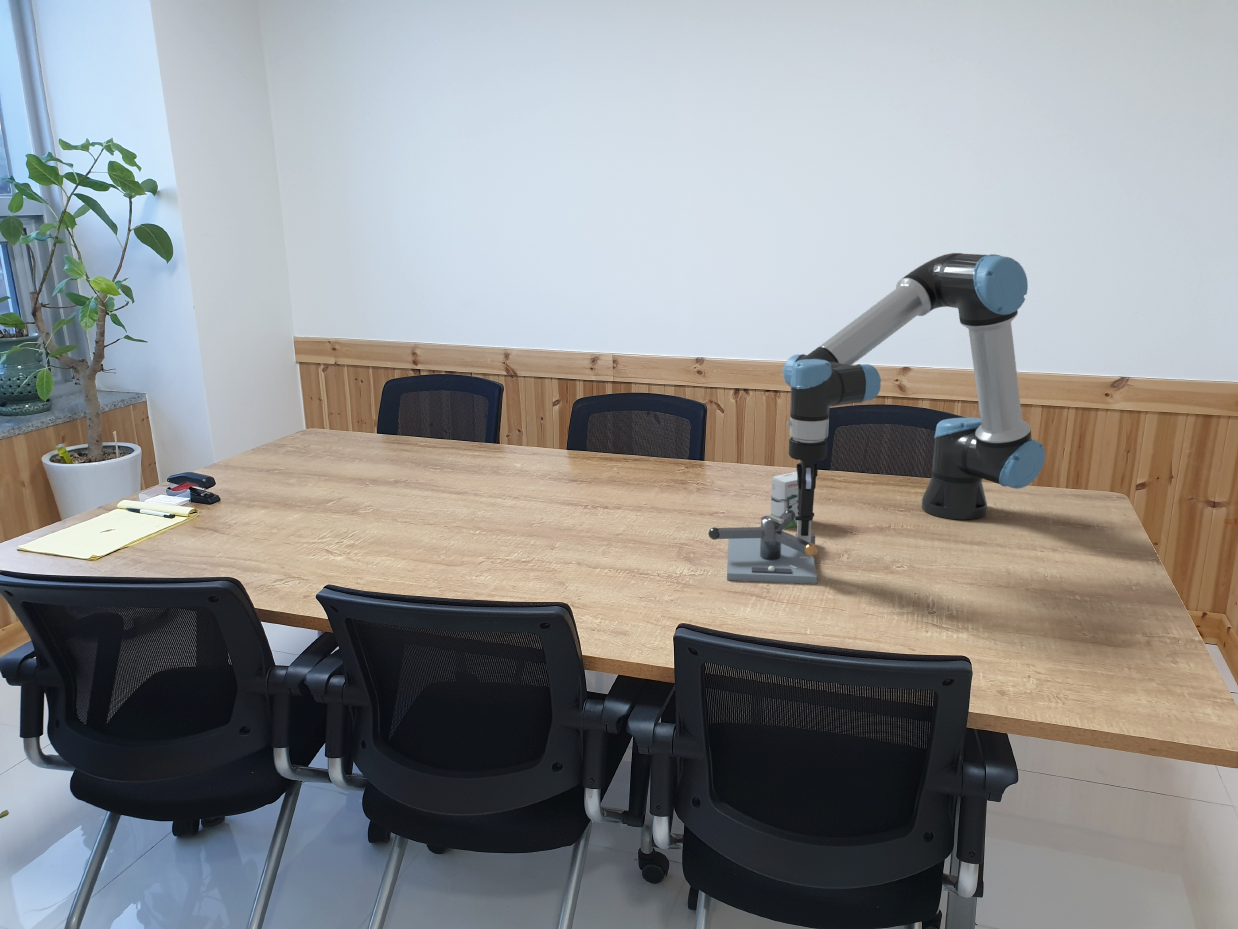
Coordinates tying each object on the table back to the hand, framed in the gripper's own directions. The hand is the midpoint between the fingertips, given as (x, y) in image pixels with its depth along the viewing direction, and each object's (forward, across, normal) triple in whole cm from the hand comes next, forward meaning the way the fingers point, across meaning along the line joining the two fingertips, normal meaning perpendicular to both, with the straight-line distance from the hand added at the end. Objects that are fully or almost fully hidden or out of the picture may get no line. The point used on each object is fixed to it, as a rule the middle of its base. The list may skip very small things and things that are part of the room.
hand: (803, 548), depth 188 cm
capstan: (+4, -2, -5) cm, 6 cm away
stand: (+5, -5, -6) cm, 10 cm away
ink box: (+6, -30, -1) cm, 30 cm away
